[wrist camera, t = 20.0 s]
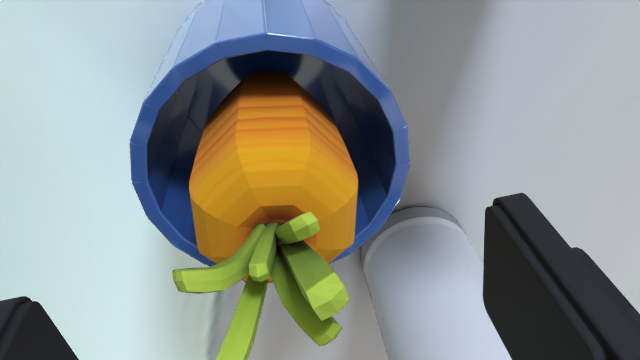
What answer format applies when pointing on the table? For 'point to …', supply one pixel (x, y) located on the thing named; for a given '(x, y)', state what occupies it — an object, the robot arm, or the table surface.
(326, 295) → the carrot
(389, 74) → the table surface
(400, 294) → the travel mug
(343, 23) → the cup
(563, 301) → the robot arm
